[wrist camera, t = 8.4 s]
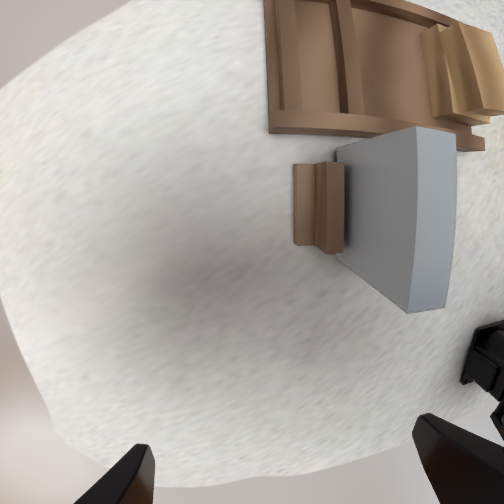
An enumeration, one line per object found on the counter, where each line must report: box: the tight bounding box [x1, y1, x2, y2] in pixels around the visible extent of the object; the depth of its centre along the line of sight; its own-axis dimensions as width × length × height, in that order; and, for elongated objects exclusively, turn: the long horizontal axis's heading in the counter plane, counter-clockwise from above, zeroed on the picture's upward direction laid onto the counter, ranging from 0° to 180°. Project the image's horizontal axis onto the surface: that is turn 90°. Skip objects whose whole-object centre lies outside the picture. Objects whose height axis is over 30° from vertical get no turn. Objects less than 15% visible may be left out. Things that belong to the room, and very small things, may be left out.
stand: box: [293, 162, 344, 254], centre depth 18 cm, size 7×5×4 cm
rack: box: [264, 0, 485, 152], centre depth 17 cm, size 16×11×2 cm
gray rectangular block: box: [336, 126, 457, 314], centre depth 14 cm, size 2×7×9 cm, turn 1°
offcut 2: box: [438, 22, 504, 116], centre depth 14 cm, size 4×6×2 cm, turn 9°
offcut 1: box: [420, 24, 490, 126], centre depth 16 cm, size 4×7×2 cm, turn 1°
